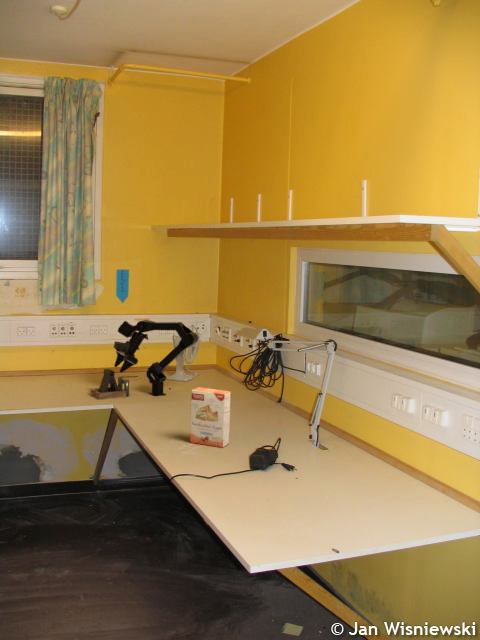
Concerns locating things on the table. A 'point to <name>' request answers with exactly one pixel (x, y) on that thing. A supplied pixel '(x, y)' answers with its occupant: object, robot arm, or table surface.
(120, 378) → the cradle
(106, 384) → the phone stand
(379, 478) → the table surface
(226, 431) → the cracker box
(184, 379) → the pale grey desk fan
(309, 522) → the table surface
